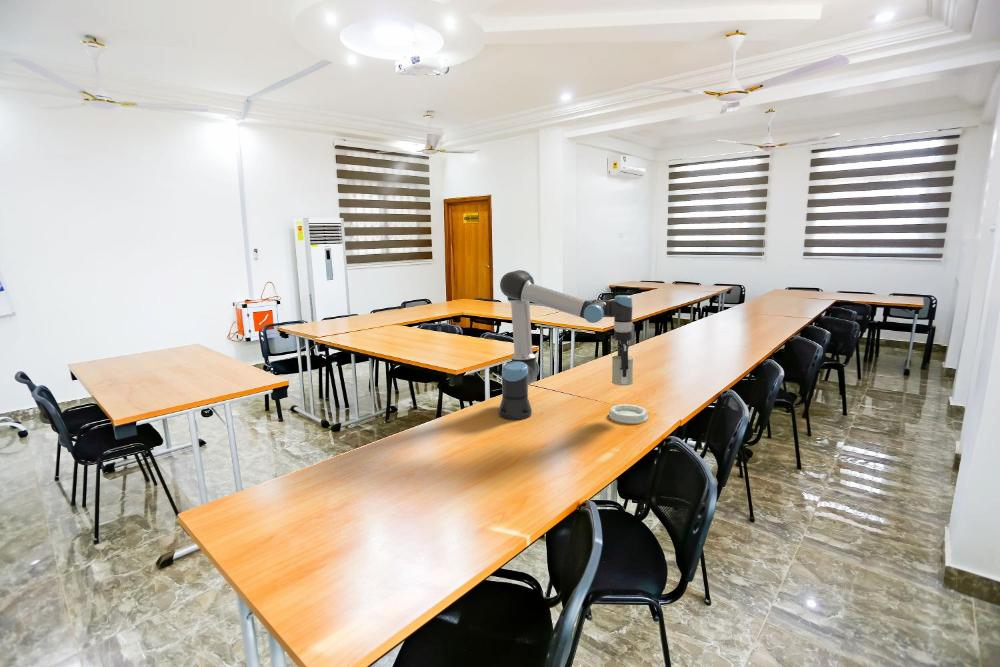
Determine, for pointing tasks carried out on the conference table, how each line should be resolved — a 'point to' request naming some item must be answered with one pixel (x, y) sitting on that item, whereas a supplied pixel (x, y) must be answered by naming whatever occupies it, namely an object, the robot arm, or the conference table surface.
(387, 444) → the conference table surface
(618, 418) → the tray
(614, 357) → the can
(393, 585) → the conference table surface
